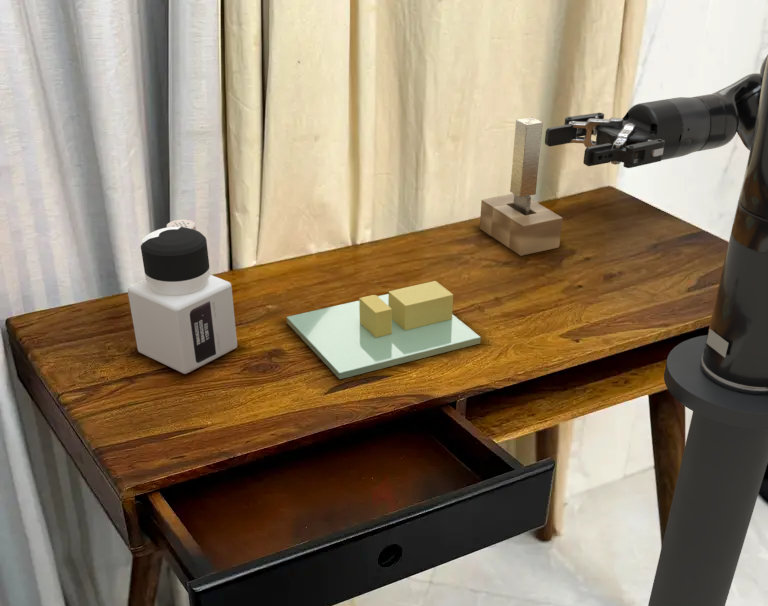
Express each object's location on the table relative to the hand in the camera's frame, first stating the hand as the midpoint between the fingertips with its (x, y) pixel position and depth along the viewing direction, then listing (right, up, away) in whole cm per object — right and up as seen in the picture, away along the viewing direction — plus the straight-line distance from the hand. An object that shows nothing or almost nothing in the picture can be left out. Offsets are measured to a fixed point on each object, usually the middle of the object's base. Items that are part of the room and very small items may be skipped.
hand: (565, 147), depth 125 cm
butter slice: (-24, -26, -17) cm, 39 cm away
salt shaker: (-46, -22, -11) cm, 52 cm away
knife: (-5, -10, +5) cm, 13 cm away
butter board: (-23, -27, -16) cm, 39 cm away
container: (-44, -29, -19) cm, 56 cm away
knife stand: (-5, -10, +5) cm, 13 cm away
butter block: (-19, -25, -15) cm, 35 cm away
